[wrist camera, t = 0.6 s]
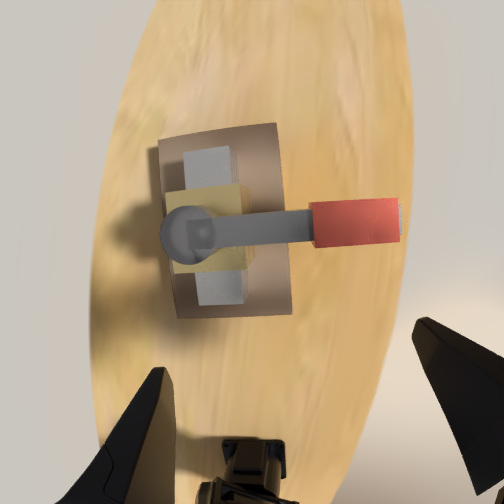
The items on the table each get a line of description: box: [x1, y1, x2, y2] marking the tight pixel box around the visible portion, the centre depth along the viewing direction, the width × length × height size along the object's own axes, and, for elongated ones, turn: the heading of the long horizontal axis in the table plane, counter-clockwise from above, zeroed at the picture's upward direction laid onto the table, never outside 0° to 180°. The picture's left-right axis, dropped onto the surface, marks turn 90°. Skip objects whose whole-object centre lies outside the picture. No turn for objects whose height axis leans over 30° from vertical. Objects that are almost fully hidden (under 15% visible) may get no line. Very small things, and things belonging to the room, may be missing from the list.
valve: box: [165, 146, 256, 306], centre depth 19 cm, size 10×4×6 cm, turn 5°
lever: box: [160, 198, 402, 265], centre depth 14 cm, size 11×3×2 cm, turn 95°
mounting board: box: [158, 123, 292, 318], centre depth 23 cm, size 14×9×2 cm, turn 5°
